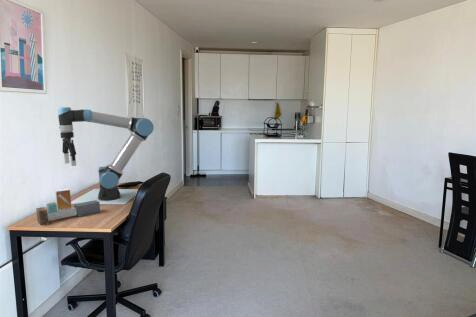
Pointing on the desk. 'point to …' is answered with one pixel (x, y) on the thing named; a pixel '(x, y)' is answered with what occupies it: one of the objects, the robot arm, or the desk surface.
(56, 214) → the teal-ended white column
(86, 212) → the grey rectangular block
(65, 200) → the small box
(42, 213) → the socket
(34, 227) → the desk surface
